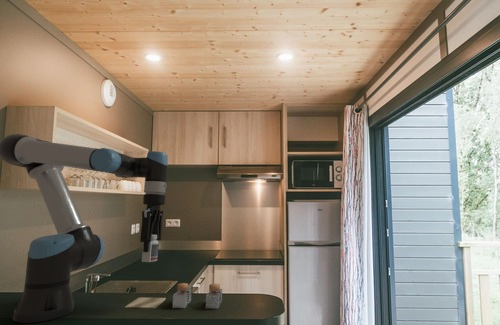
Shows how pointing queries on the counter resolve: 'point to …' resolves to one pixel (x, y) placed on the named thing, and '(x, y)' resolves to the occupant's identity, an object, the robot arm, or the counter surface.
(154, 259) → the pill bottle
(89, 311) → the counter surface
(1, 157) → the robot arm
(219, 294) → the set of grey blocks
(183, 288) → the plunger
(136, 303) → the coaster
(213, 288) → the plunger
